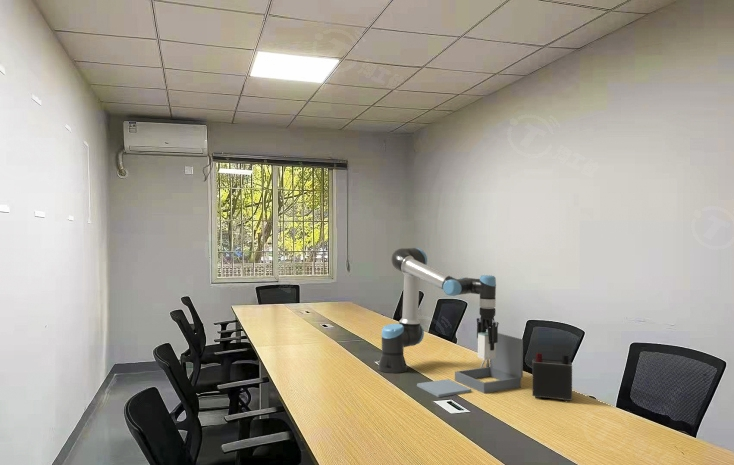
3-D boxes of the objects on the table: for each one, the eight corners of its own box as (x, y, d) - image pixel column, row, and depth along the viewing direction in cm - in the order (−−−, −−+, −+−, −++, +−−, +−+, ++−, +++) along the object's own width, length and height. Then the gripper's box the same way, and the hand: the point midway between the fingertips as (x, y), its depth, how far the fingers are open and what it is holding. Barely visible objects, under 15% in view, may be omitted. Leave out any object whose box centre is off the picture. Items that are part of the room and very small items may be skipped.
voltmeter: (569, 392, 227) (569, 348, 227) (572, 403, 212) (572, 356, 212) (532, 388, 232) (532, 345, 233) (532, 399, 217) (532, 353, 217)
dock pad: (416, 386, 234) (416, 383, 234) (448, 381, 242) (448, 379, 242) (438, 397, 218) (438, 394, 218) (471, 391, 226) (471, 389, 226)
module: (477, 357, 240) (478, 332, 240) (489, 356, 243) (489, 331, 243) (484, 359, 235) (484, 334, 235) (495, 358, 238) (496, 333, 238)
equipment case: (453, 379, 245) (453, 334, 245) (490, 374, 255) (490, 330, 255) (483, 393, 224) (484, 343, 224) (522, 386, 234) (522, 339, 234)
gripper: (506, 309, 233) (505, 359, 233) (481, 304, 249) (480, 350, 249) (493, 310, 229) (493, 360, 229) (469, 305, 246) (468, 352, 245)
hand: (486, 355), depth 239 cm, fingers closed on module, 5 cm apart
